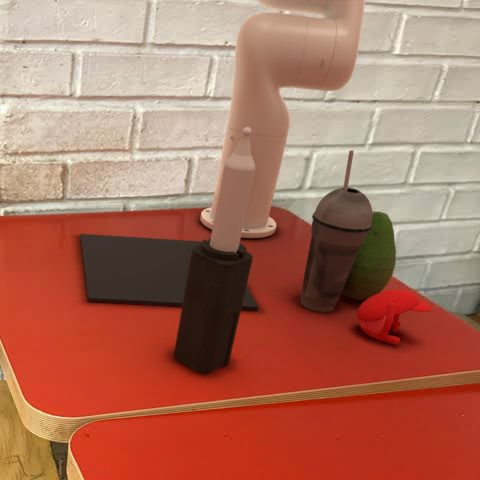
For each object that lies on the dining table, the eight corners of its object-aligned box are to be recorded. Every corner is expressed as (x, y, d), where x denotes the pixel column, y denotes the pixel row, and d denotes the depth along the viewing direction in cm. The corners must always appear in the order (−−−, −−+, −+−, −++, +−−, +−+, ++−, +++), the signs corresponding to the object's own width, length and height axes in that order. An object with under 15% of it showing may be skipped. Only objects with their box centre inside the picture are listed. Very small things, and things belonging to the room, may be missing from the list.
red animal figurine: (360, 344, 84) (376, 300, 81) (345, 321, 89) (359, 278, 86) (425, 350, 84) (442, 305, 81) (406, 326, 89) (422, 284, 86)
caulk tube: (203, 376, 74) (252, 136, 61) (168, 356, 77) (208, 123, 64) (233, 363, 77) (286, 131, 64) (199, 344, 80) (243, 119, 67)
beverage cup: (347, 320, 89) (398, 164, 78) (290, 311, 90) (333, 155, 79) (342, 297, 95) (388, 149, 84) (288, 288, 96) (328, 140, 85)
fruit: (335, 308, 92) (362, 221, 85) (313, 283, 98) (337, 200, 92) (391, 311, 93) (422, 225, 86) (367, 285, 100) (393, 204, 93)
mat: (80, 237, 105) (80, 233, 105) (221, 246, 108) (221, 242, 107) (87, 302, 87) (88, 297, 87) (257, 311, 89) (258, 306, 89)
